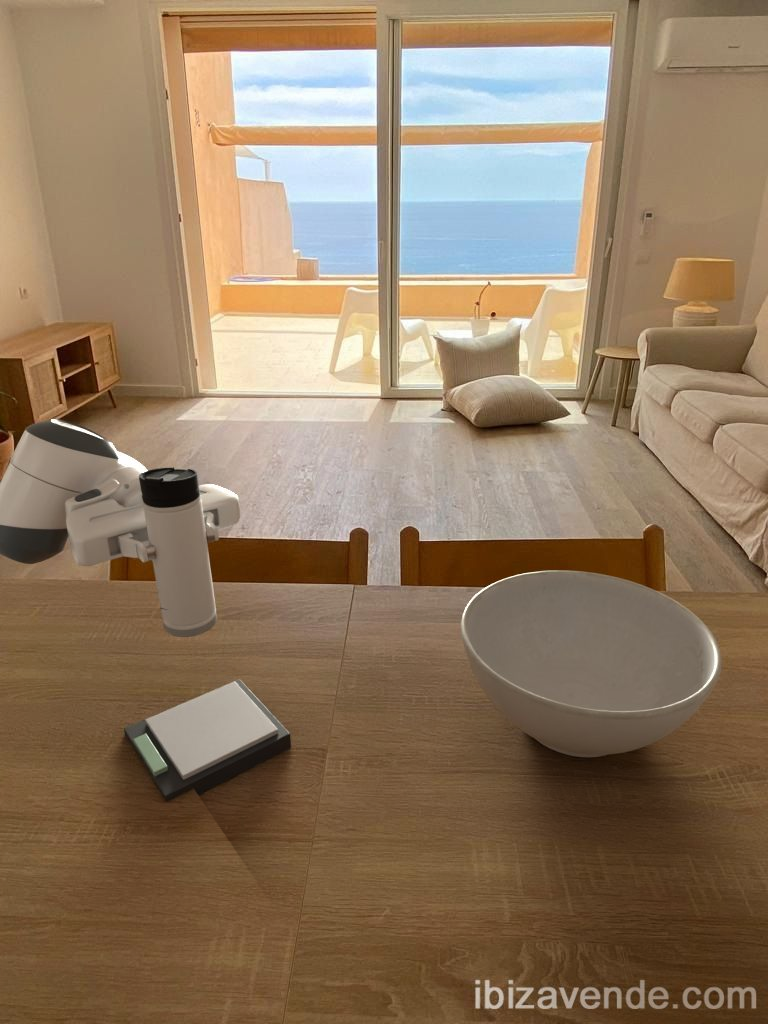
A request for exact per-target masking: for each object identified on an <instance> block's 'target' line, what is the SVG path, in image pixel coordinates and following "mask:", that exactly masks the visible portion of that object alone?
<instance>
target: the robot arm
mask: <svg viewBox="0 0 768 1024" xmlns="http://www.w3.org/2000/svg"><path fill="white" fill-rule="evenodd" d="M9 461H10V462H9V464H8V466H7V468H6V470H5V472H4V474H3V476H2V479H1V480H0V555H1V556H3V557H5V558H7V559H9V560H12V561H15V562H18V563H21V564H25V565H34V564H39V563H41V562H45V561H47V560H49V559H51V558H53V557H55V556H58V555H59V554H60V553H62V552H63V551H64V550H65V547H66V544H67V541H68V540H69V544H70V548H71V552H72V557H73V559H74V561H75V563H76V565H78V566H81V567H93V566H96V565H98V564H102V563H106V562H109V561H113V560H116V559H119V558H123V557H127V558H133V559H139V560H140V561H141V562H142V563H147V562H150V561H152V560H154V559H156V558H157V557H156V554H155V547H154V545H152V544H151V543H150V541H149V537H148V531H147V526H146V520H145V514H144V506H143V502H142V500H143V499H142V492H141V487H140V481H139V475H140V474H141V473H142V472H145V471H148V470H149V469H147V468H146V467H145V466H144V465H143V464H142V463H140V462H139V461H138V460H136V459H135V458H133V457H131V456H130V455H127V454H125V453H124V452H121V451H118V450H117V449H116V448H115V445H113V443H112V442H111V441H110V440H108V439H107V438H106V437H104V436H102V435H101V434H99V433H97V432H95V431H93V430H91V429H89V428H87V427H85V426H83V425H81V424H78V423H74V422H71V421H68V420H63V419H57V418H55V419H54V418H52V419H47V420H43V421H38V422H35V423H32V424H30V425H28V426H27V427H25V430H24V431H23V433H22V435H21V437H20V439H19V441H18V442H17V445H16V446H15V450H14V451H13V453H12V455H11V457H10V460H9ZM199 489H200V493H201V500H202V508H203V515H204V523H205V530H206V538H207V544H210V543H214V542H217V541H220V537H219V536H220V535H219V529H223V528H226V527H229V526H233V525H236V524H238V523H239V522H240V520H241V517H242V515H241V513H242V512H241V511H242V510H241V503H240V498H239V496H238V495H237V494H235V493H234V492H232V491H231V490H228V489H227V488H224V487H221V486H219V485H215V484H210V483H208V484H207V483H206V484H199Z"/></svg>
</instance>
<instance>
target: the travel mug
mask: <svg viewBox="0 0 768 1024" xmlns="http://www.w3.org/2000/svg"><path fill="white" fill-rule="evenodd" d="M147 470H148V471H145V472H142V473H141V474H140V475H139V481H140V487H141V492H142V499H143V500H142V502H143V506H144V514H145V520H146V526H147V531H148V537H149V541H150V543H151V544H152V545H154V547H155V554H156V557H157V558H156V559H154V560H151V561H152V566H153V572H154V577H155V584H156V590H157V595H158V601H159V607H160V612H161V619H162V625H163V629H164V631H165V632H166V633H167V634H169V635H171V636H173V637H177V638H192V637H196V636H199V635H202V634H204V633H206V632H208V631H209V630H211V629H212V628H213V627H214V626H215V625H216V623H217V622H218V621H217V620H218V615H217V608H216V600H215V599H216V598H215V592H214V584H213V577H212V570H211V562H210V554H209V547H208V543H207V538H206V530H205V523H204V515H203V508H202V500H201V493H200V489H199V485H200V483H199V475H198V471H197V470H195V469H193V468H187V469H185V468H184V469H183V468H175V467H174V466H173V467H171V466H170V467H168V466H167V467H158V468H153V469H147Z"/></svg>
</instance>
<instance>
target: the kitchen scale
mask: <svg viewBox="0 0 768 1024" xmlns="http://www.w3.org/2000/svg"><path fill="white" fill-rule="evenodd" d="M123 732H124V735H125V738H126V739H127V740H128V742H129V744H130V746H131V747H132V749H133V750H134V752H135V754H136V755H137V757H138V759H139V760H140V762H141V763H142V765H143V767H144V769H145V770H146V771H147V774H148V775H149V776H150V778H151V780H152V781H153V783H154V784H155V787H156V788H157V790H158V791H159V793H160V794H161V796H162V798H163V800H164V801H165V803H168V802H170V801H172V800H174V799H176V798H179V797H180V796H182V795H184V794H186V793H188V792H190V791H192V790H194V791H195V793H196V794H197V796H199V795H202V794H204V793H206V792H208V791H209V790H212V789H213V788H215V787H217V786H219V785H221V784H223V783H225V782H227V781H228V780H231V779H233V778H235V777H237V776H239V775H241V774H243V773H244V772H247V771H248V770H250V769H252V768H255V767H257V766H258V765H260V764H262V763H265V762H266V761H268V760H270V759H272V758H274V757H276V756H278V755H280V754H282V753H284V752H286V751H288V750H290V749H291V748H292V740H291V733H290V732H289V731H288V729H286V727H285V726H284V725H283V724H282V723H281V722H280V721H279V720H278V719H277V717H276V716H275V715H273V713H271V711H270V710H269V708H267V707H266V706H265V704H264V703H262V701H261V700H260V699H259V698H258V697H257V696H256V695H255V694H254V693H253V692H252V690H251V689H249V687H248V686H247V685H246V684H245V683H244V682H243V680H241V679H237V680H234V681H231V682H229V683H227V684H225V685H222V686H220V687H217V688H215V689H212V690H210V691H208V692H206V693H204V694H201V695H198V696H195V697H194V698H192V699H189V700H187V701H185V702H183V703H180V704H177V705H176V706H175V705H174V706H173V707H171V708H168V709H166V710H163V711H161V712H159V713H156V714H154V715H152V716H149V717H147V718H145V719H142V720H140V721H138V722H136V723H134V724H131V725H129V726H127V727H124V728H123Z"/></svg>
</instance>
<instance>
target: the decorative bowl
mask: <svg viewBox="0 0 768 1024" xmlns="http://www.w3.org/2000/svg"><path fill="white" fill-rule="evenodd" d="M460 634H461V642H462V646H463V649H464V653H465V656H466V658H467V661H468V663H469V666H470V669H471V671H472V673H473V675H474V677H475V679H476V681H477V683H478V684H479V687H480V688H481V690H482V691H483V693H484V694H485V696H486V698H487V699H488V700H489V701H490V702H491V703H492V705H493V706H494V707H495V709H497V710H498V712H499V713H501V715H502V716H503V717H505V719H507V721H508V722H510V723H511V724H512V725H513V726H515V727H516V728H517V729H519V730H520V731H522V732H523V733H525V734H526V735H527V736H529V737H530V738H533V739H535V740H536V741H537V742H539V743H540V744H541V745H543V746H544V747H546V748H549V749H550V750H552V751H555V752H558V753H560V754H564V755H567V756H571V757H577V758H597V757H604V756H607V755H608V756H609V755H616V754H624V753H628V752H633V751H637V750H639V749H642V748H644V747H647V746H649V745H652V744H654V743H657V742H658V741H661V740H662V739H664V738H665V737H668V736H669V735H670V734H672V733H674V732H675V731H677V730H678V729H679V728H680V727H682V726H683V725H684V724H685V723H686V722H688V720H690V718H691V717H692V716H693V715H694V714H695V713H696V712H697V711H698V710H699V709H700V708H701V707H702V705H703V704H704V702H706V700H707V699H708V697H709V696H710V695H711V693H712V692H713V690H714V689H715V686H716V684H717V683H718V680H719V678H720V675H721V672H722V667H723V659H722V658H723V657H722V652H721V649H720V646H719V644H718V641H717V639H716V637H715V636H714V634H713V633H712V631H711V629H710V628H709V627H708V626H707V625H706V624H705V622H704V621H702V620H701V618H699V617H698V616H697V614H695V613H693V611H691V610H690V609H689V608H687V607H686V606H684V605H683V604H681V603H680V602H678V601H677V600H675V599H673V598H671V597H670V596H668V595H666V594H664V593H662V592H660V591H657V590H655V589H653V588H650V587H648V586H645V585H643V584H640V583H637V582H634V581H631V580H628V579H624V578H620V577H616V576H612V575H606V574H602V573H596V572H588V571H580V570H579V571H578V570H541V571H533V572H526V573H521V574H516V575H513V576H509V577H506V578H503V579H500V580H498V581H496V582H494V583H491V584H490V585H488V586H486V587H485V588H483V589H481V590H480V591H479V592H478V593H476V594H475V595H474V596H473V597H472V598H471V600H470V601H469V602H468V603H467V605H466V607H465V608H464V611H463V613H462V616H461V621H460Z"/></svg>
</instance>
